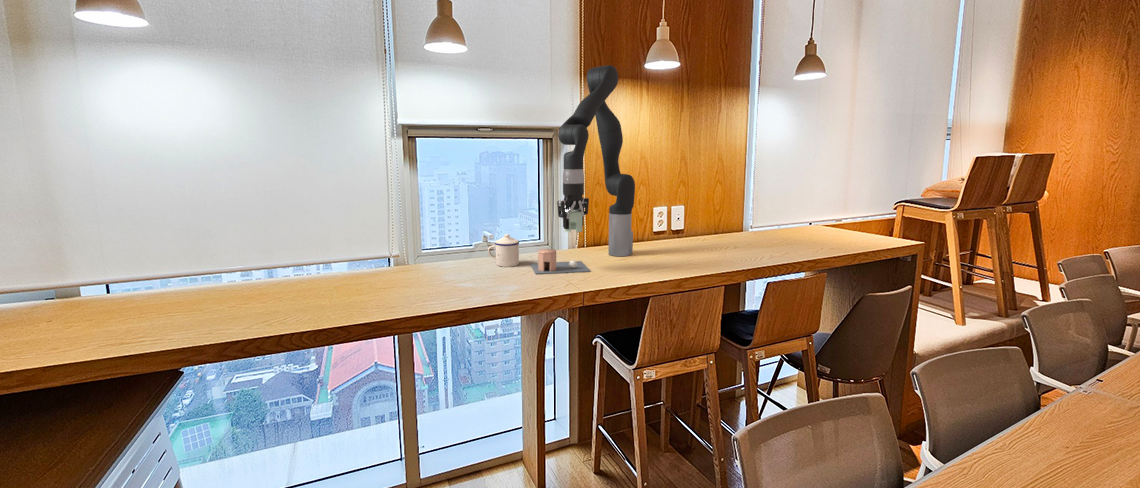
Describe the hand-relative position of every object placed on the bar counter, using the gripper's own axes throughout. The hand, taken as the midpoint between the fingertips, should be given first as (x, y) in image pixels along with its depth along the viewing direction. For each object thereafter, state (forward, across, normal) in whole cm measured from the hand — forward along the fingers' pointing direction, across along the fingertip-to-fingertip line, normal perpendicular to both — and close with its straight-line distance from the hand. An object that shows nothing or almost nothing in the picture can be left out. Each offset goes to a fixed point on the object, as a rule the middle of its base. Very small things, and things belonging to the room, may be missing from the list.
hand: (573, 227), depth 199 cm
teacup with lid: (+16, +14, -24) cm, 32 cm away
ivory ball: (+15, 0, 0) cm, 15 cm away
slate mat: (+15, +2, -5) cm, 16 cm away
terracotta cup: (+15, +8, -5) cm, 18 cm away
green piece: (+1, 0, 0) cm, 1 cm away
